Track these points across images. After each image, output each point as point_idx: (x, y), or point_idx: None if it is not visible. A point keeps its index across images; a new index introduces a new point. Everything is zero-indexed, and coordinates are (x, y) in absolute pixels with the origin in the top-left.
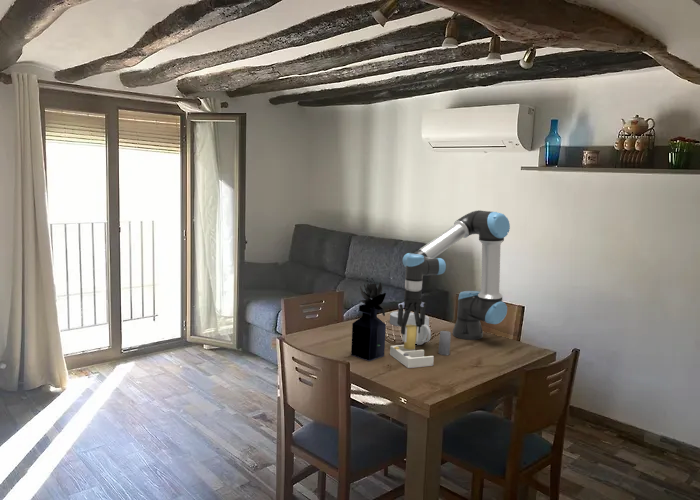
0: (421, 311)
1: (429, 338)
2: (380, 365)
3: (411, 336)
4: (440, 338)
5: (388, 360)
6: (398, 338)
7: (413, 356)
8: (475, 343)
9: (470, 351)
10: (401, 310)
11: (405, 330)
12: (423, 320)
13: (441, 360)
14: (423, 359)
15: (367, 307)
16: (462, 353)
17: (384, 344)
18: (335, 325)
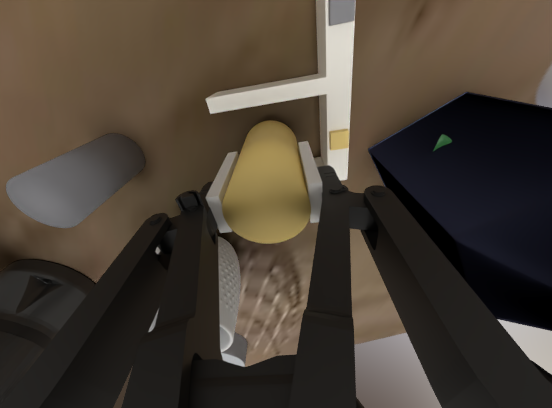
0: (117, 345)
1: None
2: (461, 15)
3: (272, 144)
4: (96, 181)
5: (379, 92)
6: (255, 279)
7: (267, 84)
8: (17, 235)
9: (15, 167)
10: (512, 360)
11: (318, 173)
12: (141, 240)
13: (132, 64)
14: None
15: None
16: (43, 149)
17: (390, 168)
18: (367, 339)
